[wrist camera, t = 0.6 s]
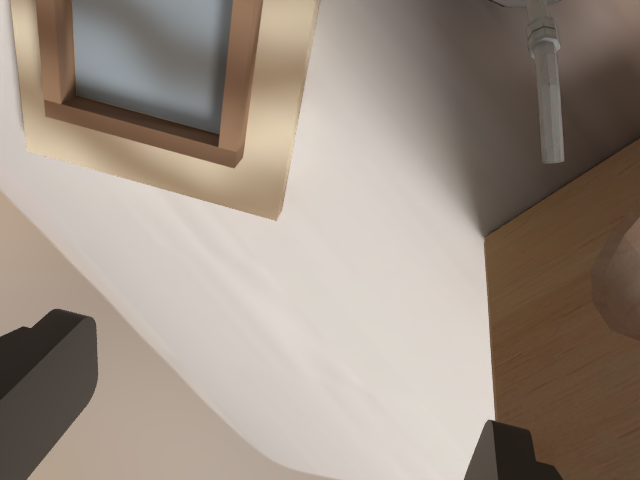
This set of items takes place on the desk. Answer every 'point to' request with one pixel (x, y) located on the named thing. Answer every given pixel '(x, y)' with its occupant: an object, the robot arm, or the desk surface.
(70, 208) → the desk surface
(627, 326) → the decorative block
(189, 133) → the tan wooden flat frame
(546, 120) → the mate gourd
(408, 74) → the desk surface
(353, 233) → the desk surface
